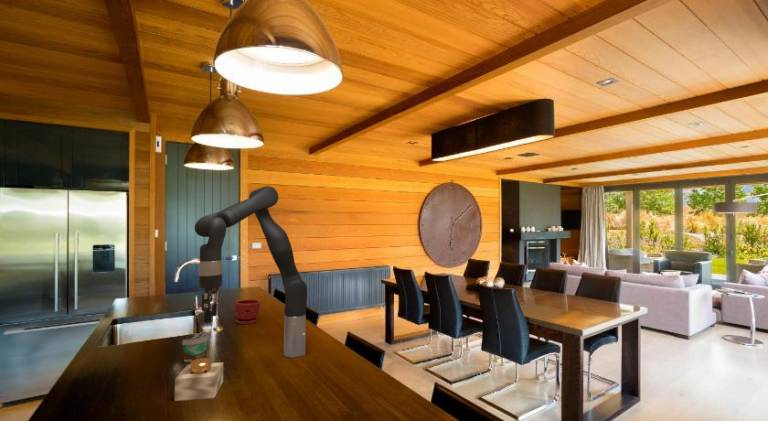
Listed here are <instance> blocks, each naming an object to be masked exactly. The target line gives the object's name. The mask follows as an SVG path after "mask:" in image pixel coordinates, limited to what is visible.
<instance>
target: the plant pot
mask: <svg viewBox="0 0 768 421" xmlns="http://www.w3.org/2000/svg"><path fill="white" fill-rule="evenodd" d="M260 307H261V301H260V300H257V299H243V300H237V301H236V302H235V309H234V310H235V315H236V317H237V318H236V319H235V322H236V323H237V324H239V325H251V324H254V323H256V322H257V321H258V315H259V313H260Z"/></svg>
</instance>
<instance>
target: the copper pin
mask: <svg viewBox="0 0 768 421" xmlns="http://www.w3.org/2000/svg"><path fill="white" fill-rule="evenodd" d="M211 363H212V358H209V357H205V358H200V359H196V360H193V361H192V362H191V363H190V364H189V365H190V373H192V374H202V373H207V372H208V371H210V370H211Z"/></svg>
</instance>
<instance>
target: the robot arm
mask: <svg viewBox="0 0 768 421" xmlns="http://www.w3.org/2000/svg"><path fill="white" fill-rule="evenodd" d="M278 202H279V192H278V191H277V190H276V188H275V187H273V186H271V185H267V186H266V185H265V186H262V187H259V188H257V189H254V190H252V191H250V193H249V195H248V198H246V199H244V200H242V201H239V202H236V203H234V204H231V205H230V206H227V207H226V208H224V209H222V210H220V211H217V212H213V213H210V214H208V215H205V216H202V217H201V218H199V219H197V221H196V222H195V223H194V224H195V225H194V231H195V233H196V234H197V235H198V236H200V237H204V238H208V239H207V243H203V244H202V245H201V246H200V247H199V264H198V288H200V289H204V290H205V291H204V292H202V294H201V311H202V312H203V323H205V324H206V323H207V324H208V323H211V322H212V317H216V316H218V304H219V302H220V297H219V296H220V293H219V292H220V291H219V290H220V287H222V286H223V262H222V247H223V245H224V242H225V238H226V233H227V228H230V227H233V226H235V225H237V224H239V223H240V222H242V221H244V220H246V219H248V217H249V216H252V215H255V218H256V219H257V221H258V223H259V226H260V228H261V230H262V233H263V235H264V237H265V241H266V244H267V247H268V249H269V252H270V254H271V257H272V259H273V261H274V263H275V265H276V267H277V269H278V271H279V273H280V277H281V281H282V285H283V289H284V293H285V299H284V300H285V303H284V304H285V305H284V311H283V312H284V315H283V316H284V317H283V318H284V319H283V325H284V326H283V356H284V357H286V358H298V357H302V356H303V357H304V356H306V337H307V336H306V334H307V333H306V328H307V327H306V319H307V318H306V317H307V315H306V314H307V308H308V307H307V306H308V286H307V283H305V280H304V279H303V278H302V276H301V275H300V273H299V270H298V268H297V265H296V263H295V258H294V251H293V248H292V244H291V242H290V239H289V236H288V234H287V232H286V230H285V229H284V228H282V227H281V226H280V225H279V224H278V223H277V222H276V221H275V219H273V217H272V216H271V213H270V210H269V208H272V207H274V206H275V205H276V204H277V203H278Z"/></svg>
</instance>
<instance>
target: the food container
mask: <svg viewBox="0 0 768 421" xmlns="http://www.w3.org/2000/svg"><path fill="white" fill-rule="evenodd" d="M209 340H210V337H209V334H208V332H206V331H202V332H201V333H200V334H197V335H194V336H191V337H190V338H189V339H185V338H184V339H182V342H181V343H182V344H181V345H182V346H183V347H182V348H183V363H184V364H186V365H190V363H191V362H192V361H193V360H196V359H200V358H206V356H207V355H206V354H207V344H208V341H209Z"/></svg>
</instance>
